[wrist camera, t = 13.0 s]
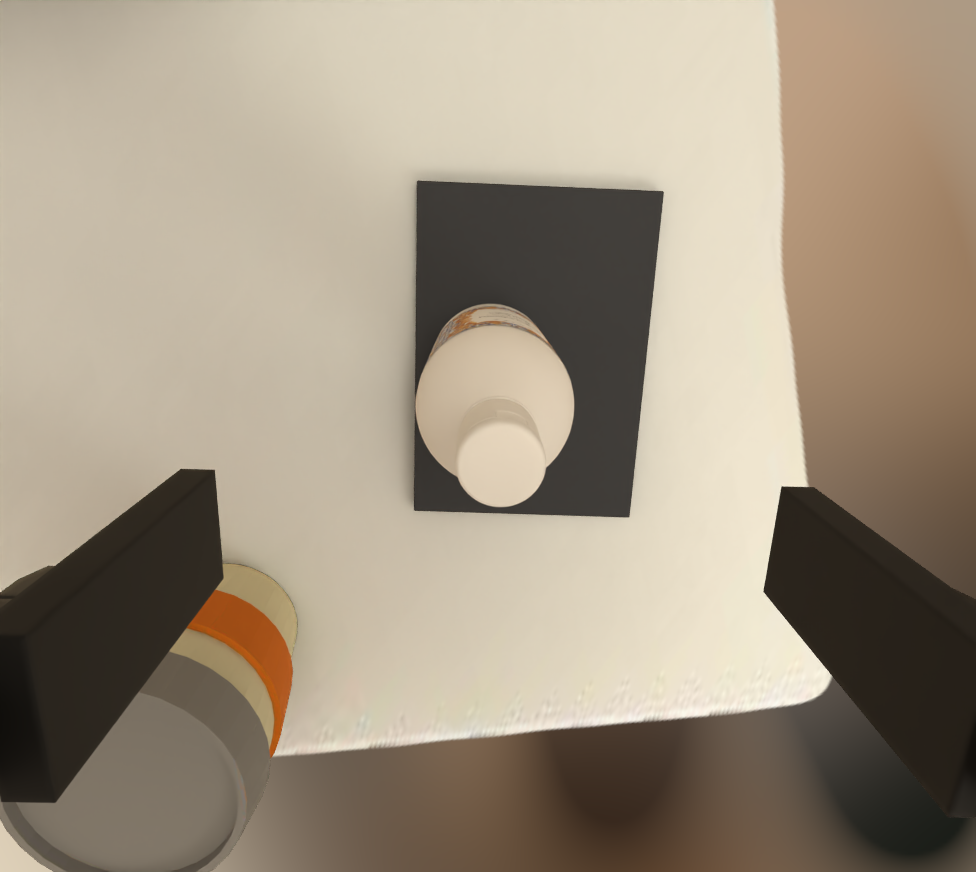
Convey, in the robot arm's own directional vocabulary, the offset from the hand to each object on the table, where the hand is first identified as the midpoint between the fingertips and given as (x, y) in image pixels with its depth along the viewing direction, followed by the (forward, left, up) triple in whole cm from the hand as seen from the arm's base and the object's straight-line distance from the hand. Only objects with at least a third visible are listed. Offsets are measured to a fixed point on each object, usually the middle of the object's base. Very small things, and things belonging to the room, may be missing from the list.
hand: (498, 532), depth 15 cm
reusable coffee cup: (+19, -17, -27) cm, 37 cm away
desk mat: (0, +3, -27) cm, 27 cm away
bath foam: (0, 0, -26) cm, 26 cm away
